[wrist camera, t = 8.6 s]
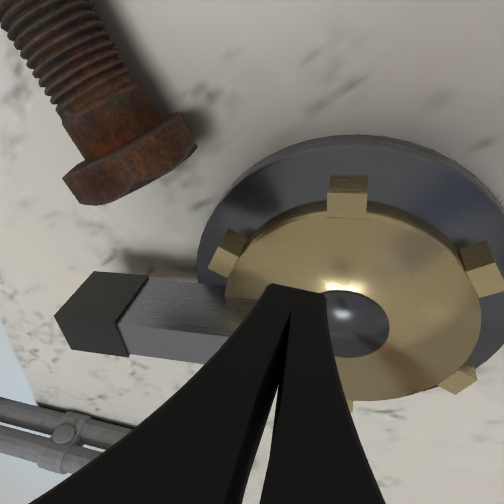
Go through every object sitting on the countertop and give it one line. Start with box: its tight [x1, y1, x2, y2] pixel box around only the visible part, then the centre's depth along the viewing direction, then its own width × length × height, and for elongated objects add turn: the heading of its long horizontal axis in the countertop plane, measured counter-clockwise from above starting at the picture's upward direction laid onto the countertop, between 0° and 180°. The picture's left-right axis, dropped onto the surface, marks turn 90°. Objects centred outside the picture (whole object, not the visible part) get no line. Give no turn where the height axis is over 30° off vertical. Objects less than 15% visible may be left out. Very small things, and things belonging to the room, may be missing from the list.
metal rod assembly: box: [0, 397, 133, 474], centre depth 34 cm, size 26×3×5 cm, turn 90°
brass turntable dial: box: [54, 175, 504, 412], centre depth 18 cm, size 19×13×4 cm
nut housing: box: [197, 135, 504, 391], centre depth 20 cm, size 15×15×2 cm
